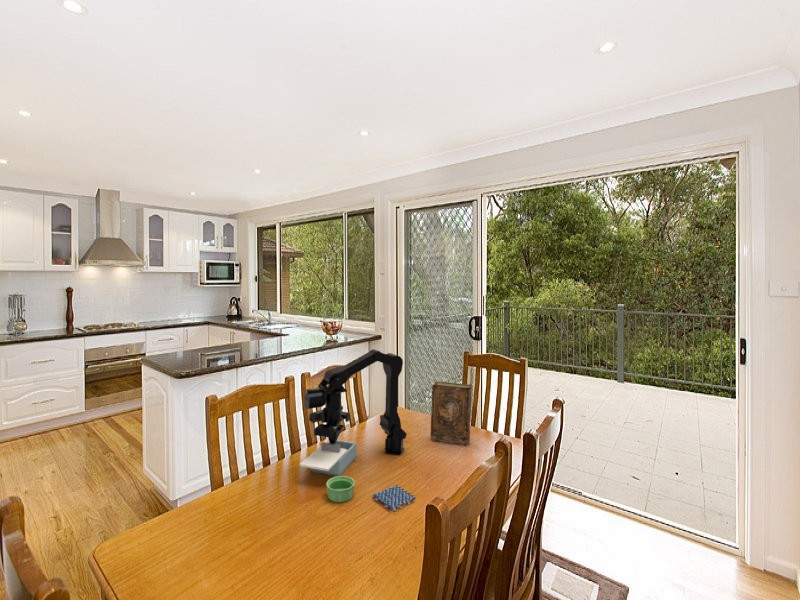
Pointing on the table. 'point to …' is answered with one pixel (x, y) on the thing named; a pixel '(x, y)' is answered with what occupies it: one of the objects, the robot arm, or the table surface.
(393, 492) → the woven mat
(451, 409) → the book
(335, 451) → the lid
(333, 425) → the robot arm
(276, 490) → the table surface
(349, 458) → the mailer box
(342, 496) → the ramekin
